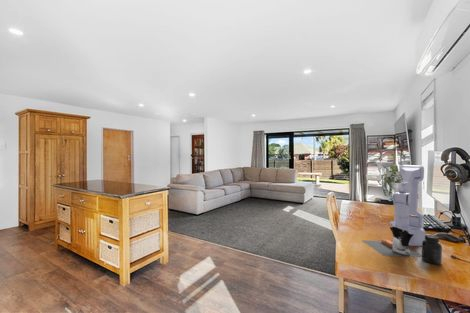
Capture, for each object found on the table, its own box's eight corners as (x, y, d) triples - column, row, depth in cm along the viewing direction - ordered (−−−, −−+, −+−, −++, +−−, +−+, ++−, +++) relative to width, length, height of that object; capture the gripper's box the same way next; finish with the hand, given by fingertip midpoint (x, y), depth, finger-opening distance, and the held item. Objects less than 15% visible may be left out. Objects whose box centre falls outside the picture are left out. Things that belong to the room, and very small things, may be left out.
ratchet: (390, 242, 122) (390, 235, 122) (413, 256, 105) (413, 247, 105) (377, 242, 122) (377, 234, 122) (398, 255, 105) (398, 247, 105)
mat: (397, 242, 124) (397, 241, 124) (426, 258, 104) (426, 257, 104) (361, 240, 125) (361, 240, 125) (383, 256, 105) (383, 255, 105)
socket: (402, 245, 111) (402, 235, 111) (408, 249, 106) (408, 238, 106) (392, 245, 111) (392, 235, 111) (399, 248, 107) (399, 238, 107)
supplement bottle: (417, 259, 103) (417, 233, 103) (431, 258, 103) (431, 233, 104) (432, 266, 96) (432, 238, 96) (446, 265, 97) (446, 238, 97)
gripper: (384, 212, 116) (383, 238, 116) (403, 220, 102) (403, 249, 102) (397, 213, 116) (397, 239, 116) (419, 220, 102) (419, 250, 101)
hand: (401, 244), depth 109 cm, fingers closed on socket, 5 cm apart
